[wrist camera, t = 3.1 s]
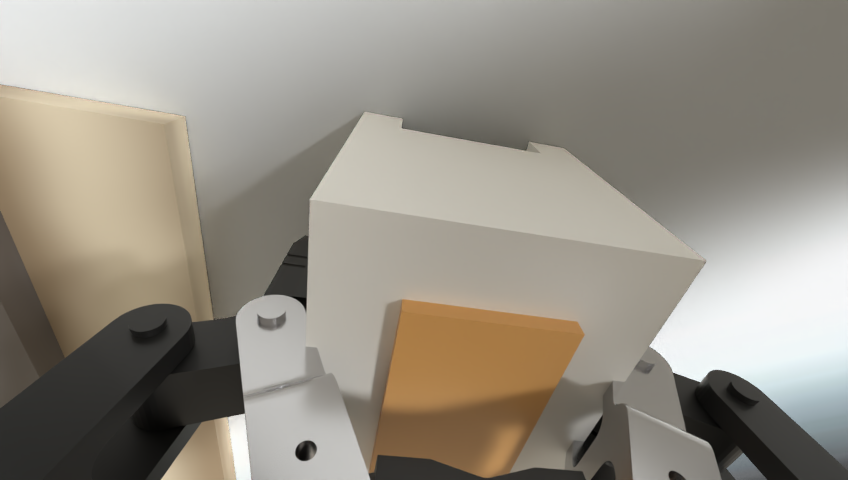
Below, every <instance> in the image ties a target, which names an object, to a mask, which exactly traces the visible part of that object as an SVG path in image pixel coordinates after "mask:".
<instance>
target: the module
mask: <svg viewBox="0 0 848 480" xmlns="http://www.w3.org/2000/svg"><path fill="white" fill-rule="evenodd" d="M402 122H403V118H397V117H392V116H386V115H381V114H375V113H370V112H364V113H363V115H362V117H361V118H360V120H359V121H358V123H357V125H356V126H355V128H354V129H353V131H352V133H351V134H350V136H349V137H348V139H347V141H346V142H345V144H344V145H343V147H342V149H341V150H340V152H339V153H338V155H337V157H336V158H335V160H334V161H333V163H332V165H331V166H330V168H329V169H328V171H327V173H326V174H325V176H324V177H323V179H322V181H321V182H320V184H319V185H318V187H317V189H316V190H315V192H314V193H313V195H312V197H311V198H310V208H309V242H308V277H307V311H306V345H305V346H307V347H316V348H317V349H318V352H319V355H320V358H321V362H322V365H323V368H324V371H325V373H326V374H328V373H332V374H333V375H334V377H335V379H336V381H337V383H338V386H339V389H340V392H341V395H342V398H343V401H344V404H345V407H346V410H347V413H348V415H349V418H350V421H351V424H352V427H353V430H354V433H355V436H356V439H357V442H358V445H359V448H360V451H361V454H362V457H363V459H364V462H365V465H366V468H367V471H368V473H372V472H374V470H375V465H376V460H377V455H387V456H400V457H412V458H425V459H432V460H435V461H438V462H440V463H443V464H446V465H449V466H452V467H454V468H457V469H460V470H463V471H466V472H468V473H471V474H474V475H477V476H480V477H483V478H491V477H495V476H500V475H504V474H508V473H513V472H517V471H521V470H526V469H530V468H534V467H536V468H548V469H561V470H564V469H565V458H566V452H567V450H568V449H569V447H570V445H571V444H572V442H573V441H574V440H575V441H585V440H586V438H587V437H588V435H589V434H590V432H591V431H592V430H593V428H594V427H595V425H596V424H597V422H598V421H599V419H600V418H601V416H602V415H603V395H604V393H605V392H606V390H607V389H608V387H609V385H610V384H611V382H612V381H621V382H625V381H626V379H627V378H628V376H629V375H630V373H631V372H632V371H633V369H634V368H635V366H636V365H637V363H638V362H639V360H640V359H641V357H642V356H643V354H644V353H645V351H646V350H647V348H648V347H649V345H650V344H651V343H652V341H653V340H654V338H655V337H656V335H657V334H658V332H659V331H660V329H661V328H662V326H663V325H664V323H665V322H666V320H667V319H668V317H669V316H670V314H671V313H672V312H673V310H674V309H675V307H676V306H677V304H678V303H679V301H680V300H681V298H682V297H683V295H684V294H685V292H686V291H687V289H688V288H689V286H690V285H691V283H692V282H693V281H694V279H695V278H696V276H697V275H698V273H699V272H700V270H701V269H702V267H703V266H704V264H705V263H706V260H705V259H704V258H703V257H701V256H700V255H699V254H697V253H696V252H695V251H694V250H692V249H691V248H690V247H689V246H687V245H686V244H685V243H683V242H682V241H681V240H680V239H678V238H677V237H676V236H675V235H673V234H672V233H671V232H670V231H668V230H667V229H666V228H664V227H663V226H662V225H661V224H659V223H658V222H657V221H656V220H654V219H653V218H652V217H651V216H649V215H648V214H647V213H645V212H644V211H643V210H642V209H640V208H639V207H638V206H637V205H635V204H634V203H633V202H631V201H630V200H629V199H628V198H626V197H625V196H624V195H623V194H621V193H620V192H619V191H618V190H616V189H615V188H614V187H612V186H611V185H610V184H609V183H607V182H606V181H605V180H604V179H602V178H601V177H600V176H599V175H597V174H596V173H595V172H593V171H592V170H591V169H590V168H588V167H587V166H586V165H585V164H583V163H582V162H581V161H579V160H578V159H577V158H576V157H574V156H573V155H572V154H571V153H569V152H568V151H567V150H566V149H564V148H561V147H555V146H550V145H544V144H539V143H533V142H529V143H528V146H527V149H526V151H525V150H519V149H514V148H508V147H502V146H497V145H491V144H486V143H480V142H475V141H469V140H464V139H458V138H453V137H447V136H442V135H436V134H430V133H425V132H419V131H414V130H408V129H403V128H402Z"/></svg>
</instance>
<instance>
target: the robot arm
mask: <svg viewBox="0 0 848 480" xmlns="http://www.w3.org/2000/svg"><path fill="white" fill-rule="evenodd" d="M308 242H309V236H304V237H303V238H301V239H300V240H298V241H297V242H295V243H293V245H292V247H291V249H290V250H289V252H288V254H287V256H286V257H285V259H284V261H283V263H282V265H281V266H280V268H279V270H278V271H277V273H276V275H275V277H274V278H273V280H272V282H271V284H270V285H269V287H268V289H267V291H266V292H265V294H264V296H262V297H259V298H256V299H253V300H251V301H249V302H248V303H246V304H245V305H244V306H243V307H242V308H241V309H240V310H239V312H238V313H237V316H234V317H230V318H225V319H217V320H208V321H198V322H192V318H191V315H190V313H189V312H188V311H187V310H186V309H185V308H183V307H181V306H177V305H173V304H152V305H147V306H142V307H139V308H136V309H133V310H131V311H128V312H126V313H124V314H122V315H121V316H119V317H118V318H116V319H115V320H113V321H112V322H111V323H110V324H108V325H107V326H106V327H104V328H103V329H102V330H101V331H99V332H98V333H97V334H95V335H94V336H93V337H91V338H90V339H89V340H88V341H86V342H85V343H84V344H82V345H81V346H80V347H79V348H77V349H76V350H75V351H73V352H72V353H71V354H70V355H68V356H67V357H66V358H64V359H63V360H62V361H61V362H59V363H58V364H57V365H55V366H54V367H53V368H52V369H50V370H49V371H48V372H46V373H45V374H44V375H42V376H41V377H40V378H39V379H37V380H36V381H35V382H33V383H32V384H31V385H30V386H28V387H27V388H26V389H24V390H23V391H22V392H21V393H19V394H18V395H17V396H15V397H14V398H13V399H12V400H10V401H9V402H8V403H6V404H5V405H4V406H2V407H1V408H0V480H161V479H162V477H163V476H164V475H165V473H166V472H167V470H168V469H169V468H170V466H171V465H172V463H173V462H174V461H175V459H176V458H177V456H178V455H179V454H180V452H181V451H182V449H183V448H184V447H185V445H186V444H187V442H188V441H189V440H190V438H191V437H192V435H193V434H194V432H195V431H196V430H197V428H198V427H199V425H200V424H201V423H202V422H205V421H210V420H215V419H220V418H225V417H230V416H234V415H239V414H244V413H245V420H246V430H247V440H248V449H249V459H250V469H251V479H252V480H735V479H734V477H733V476H732V475H731V474H730V472H729V471H728V470H727V469H726V468H727V467H728V466H729V465H731V464H732V463H733V462H734V461H735V460H736V459H737V458H738V457H739V456H740V455H741V454H742V453H744V454H745V455H746V456H747V457H748V458H749V460H750V461H751V462H752V463H753V464H754V465H755V466H756V467H757V468H758V470H759V471H760V472H761V473H762V474H763V475H764V476H765V477H766V479H767V480H848V470H847V469H846V468H845V467H843V466H842V465H841V464H840V463H839V462H838V461H837V460H836V459H835V458H834V457H833V456H831V455H830V454H829V453H828V452H827V451H826V450H825V449H824V448H823V447H822V446H821V445H820V444H818V443H817V442H816V441H815V440H814V439H813V438H812V437H811V436H810V435H809V434H808V433H806V432H805V431H804V430H803V429H802V428H801V427H800V426H799V425H798V424H797V423H796V422H794V421H793V420H792V419H791V418H790V417H789V416H788V415H787V414H786V413H785V412H784V411H783V410H781V409H780V408H779V407H778V406H777V405H776V404H775V403H774V402H773V401H772V400H771V399H769V398H768V397H767V396H766V395H765V394H764V393H763V392H762V391H760V390H759V389H758V388H757V387H755V386H754V385H752V384H751V383H749V382H748V381H746V380H744V379H743V378H741V377H739V376H737V375H734V374H732V373H729V372H726V371H721V370H713V371H710V372H709V373H708V374H707V375H706V377H705V378H704V379H703V380H702V382H698V381H695V380H692V379H689V378H686V377H684V376H681V375H678V374H675V373H673V372H672V369H671V367H670V365H669V364H668V362H667V361H666V360H665V359H664V358H663V357H662V356H661V355H660V354H659V353H658V352H656V351H655V350H654V349H652V348H651V347H648V348H647V350H646V351H645V353H644V354H643V356H642V357H641V359H640V360H639V362H638V363H637V365H636V366H635V368H634V369H633V371H632V372H631V373H630V375H629V376H628V378H627V379H626V381H625V382H621V381H612V382H611V384H610V385H609V387H608V389H607V390H606V392H605V393H604V395H603V415H602V416H601V418H600V419H599V421H598V422H597V424H596V425H595V427H594V428H593V430H592V431H591V432H590V434H589V435H588V437H587V438H586V440H585V441H575V440H574V441H573V442H572V444H571V445H570V447H569V449H568V450H567V452H566V458H565V469H564V470H561V469H548V468H536V467H534V468H530V469H526V470H521V471H517V472H513V473H508V474H504V475H500V476H495V477H491V478H483V477H480V476H477V475H474V474H471V473H468V472H466V471H463V470H460V469H457V468H454V467H452V466H449V465H446V464H443V463H440V462H438V461H435V460H432V459H425V458H412V457H400V456H387V455H377V460H376V465H375V470H374V472H372V473H368V471H367V468H366V465H365V462H364V459H363V457H362V454H361V451H360V448H359V445H358V442H357V439H356V436H355V433H354V430H353V427H352V424H351V421H350V418H349V415H348V413H347V410H346V407H345V404H344V401H343V398H342V395H341V392H340V389H339V386H338V383H337V381H336V379H335V377H334V375H333V374H332V373H328V374H326V373H325V371H324V368H323V365H322V362H321V358H320V355H319V352H318V349H317V348H316V347H307V346H305V345H306V311H307V277H308Z"/></svg>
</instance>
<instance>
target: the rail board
mask: <svg viewBox="0 0 848 480" xmlns="http://www.w3.org/2000/svg"><path fill="white" fill-rule="evenodd" d="M152 304H173V305H177V306H181V307H183V308H185V309H186V310H187V311H188V312H189V313H190V315H191V318H192V322H198V321H208V320H214V318H213V311H212V304H211V297H210V290H209V283H208V276H207V269H206V261H205V254H204V247H203V240H202V233H201V226H200V219H199V212H198V205H197V197H196V190H195V183H194V176H193V169H192V162H191V155H190V148H189V140H188V133H187V126H186V119H185V116H181V115H175V114H169V113H163V112H158V111H152V110H146V109H140V108H134V107H128V106H122V105H117V104H111V103H105V102H99V101H93V100H87V99H82V98H76V97H70V96H64V95H58V94H52V93H47V92H41V91H35V90H29V89H23V88H17V87H12V86H6V85H0V408H1V407H2V406H4V405H5V404H6V403H8V402H9V401H10V400H12V399H13V398H14V397H15V396H17V395H18V394H19V393H21V392H22V391H23V390H24V389H26V388H27V387H28V386H30V385H31V384H32V383H33V382H35V381H36V380H37V379H39V378H40V377H41V376H42V375H44V374H45V373H46V372H48V371H49V370H50V369H52V368H53V367H54V366H55V365H57V364H58V363H59V362H61V361H62V360H63V359H64V358H66V357H67V356H68V355H70V354H71V353H72V352H73V351H75V350H76V349H77V348H79V347H80V346H81V345H82V344H84V343H85V342H86V341H88V340H89V339H90V338H91V337H93V336H94V335H95V334H97V333H98V332H99V331H101V330H102V329H103V328H104V327H106V326H107V325H108V324H110V323H111V322H112V321H113V320H115V319H116V318H118V317H119V316H121V315H122V314H124V313H126V312H128V311H131V310H133V309H136V308H139V307H142V306H147V305H152ZM161 480H236V475H235V468H234V461H233V454H232V447H231V439H230V432H229V425H228V418H227V417H225V418H220V419H215V420H210V421H205V422H202V423H201V424H200V425H199V427H198V428H197V430H196V431H195V432H194V434H193V435H192V437H191V438H190V440H189V441H188V442H187V444H186V445H185V447H184V448H183V449H182V451H181V452H180V454H179V455H178V456H177V458H176V459H175V461H174V462H173V463H172V465H171V466H170V468H169V469H168V470H167V472H166V473H165V475H164V476H163V477H162V479H161Z"/></svg>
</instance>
